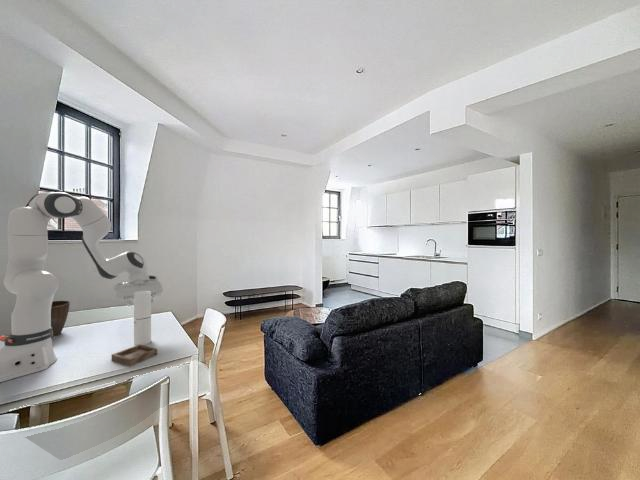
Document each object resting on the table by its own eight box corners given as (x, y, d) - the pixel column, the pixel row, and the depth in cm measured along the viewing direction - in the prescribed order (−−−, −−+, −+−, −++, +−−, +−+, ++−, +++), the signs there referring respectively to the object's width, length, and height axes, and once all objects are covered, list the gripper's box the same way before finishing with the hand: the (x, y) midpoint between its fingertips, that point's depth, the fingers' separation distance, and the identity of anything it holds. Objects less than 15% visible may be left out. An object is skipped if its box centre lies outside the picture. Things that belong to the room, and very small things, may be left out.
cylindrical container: (145, 345, 133) (144, 293, 132) (130, 345, 133) (130, 293, 132) (154, 339, 140) (154, 290, 139) (140, 339, 140) (140, 290, 140)
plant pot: (41, 341, 135) (41, 309, 135) (23, 337, 140) (23, 306, 140) (76, 331, 149) (76, 302, 149) (59, 328, 154) (58, 299, 154)
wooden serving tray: (129, 366, 113) (129, 360, 112) (111, 360, 117) (111, 354, 117) (157, 354, 124) (157, 349, 123) (139, 349, 128) (139, 344, 128)
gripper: (114, 280, 138) (116, 303, 131) (161, 276, 151) (164, 297, 144) (114, 287, 142) (115, 310, 135) (159, 283, 155) (163, 304, 148)
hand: (141, 303), depth 140 cm, fingers open, 8 cm apart
